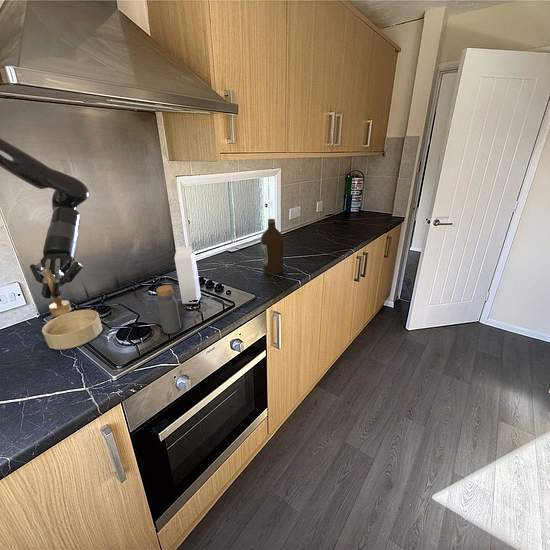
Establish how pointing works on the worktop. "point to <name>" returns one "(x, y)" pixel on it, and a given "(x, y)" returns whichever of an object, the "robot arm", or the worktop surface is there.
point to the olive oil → (272, 249)
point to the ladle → (59, 305)
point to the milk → (187, 275)
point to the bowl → (72, 329)
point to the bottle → (168, 309)
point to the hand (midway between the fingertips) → (50, 297)
